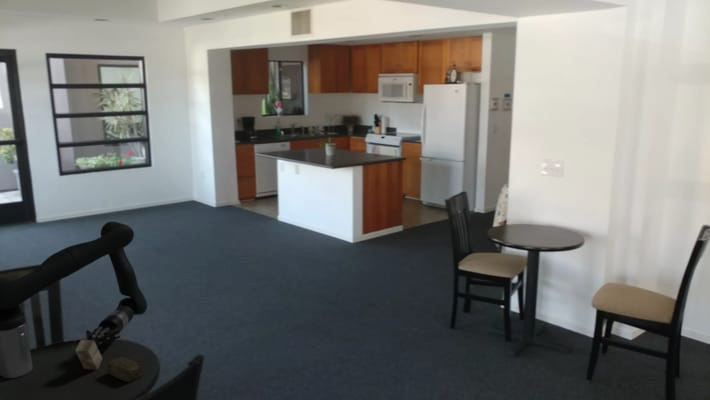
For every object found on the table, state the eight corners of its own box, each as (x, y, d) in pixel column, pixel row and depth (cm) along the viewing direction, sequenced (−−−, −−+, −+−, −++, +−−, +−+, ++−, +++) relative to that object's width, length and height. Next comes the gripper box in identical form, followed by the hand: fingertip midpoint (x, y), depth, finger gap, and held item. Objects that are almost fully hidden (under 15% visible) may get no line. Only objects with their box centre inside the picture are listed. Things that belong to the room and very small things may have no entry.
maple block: (84, 369, 191) (75, 350, 185) (90, 358, 195) (80, 340, 189) (97, 369, 191) (88, 350, 185) (102, 358, 195) (93, 340, 189)
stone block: (128, 384, 182) (127, 370, 180) (106, 375, 187) (105, 362, 186) (143, 376, 186) (142, 362, 185) (121, 368, 192) (120, 354, 191)
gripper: (95, 314, 207) (70, 335, 190) (130, 314, 207) (108, 335, 190) (97, 333, 209) (73, 355, 192) (132, 333, 208) (110, 355, 191)
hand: (90, 345), depth 191 cm, fingers closed
